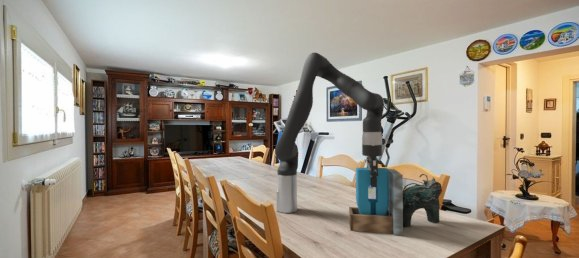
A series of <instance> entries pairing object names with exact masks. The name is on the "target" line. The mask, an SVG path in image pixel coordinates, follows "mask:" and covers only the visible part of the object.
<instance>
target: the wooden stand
mask: <svg viewBox="0 0 579 258" xmlns="http://www.w3.org/2000/svg"><path fill="white" fill-rule="evenodd" d="M388 169H389V207H388V210H387V214H386V216H380V215H360V213H359V209H358V206H357V207H353V206H349V209H348V210H349V211H348V214H349V217H348V218H349V231H352V232H367V233H368V232H369V233H384V234H385V233H387V234H393V236H401V237H403V236H404V227H403V189H404V186H403V185H404V184H403V183H404V182H403V181H404V180H403V179H404V178H403V174H402V173H400V172H399V171H398V170H396V169H395V168H388Z"/></svg>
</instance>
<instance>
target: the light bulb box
mask: <svg viewBox="0 0 579 258" xmlns="http://www.w3.org/2000/svg"><path fill="white" fill-rule="evenodd" d="M368 198H369V199H376V187H371V185H370V186H369V187H368Z"/></svg>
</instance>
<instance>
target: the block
mask: <svg viewBox="0 0 579 258" xmlns="http://www.w3.org/2000/svg"><path fill="white" fill-rule="evenodd" d="M389 169H390V168H387V167H378V177H377V187H376V199H369V198H368V187H369V186H370V185H371V177H370V172H369V170H368V168H367V167H356V168H355V193H356V194H355V200H356V201H355V202H356V205H357V208H358V209H359V213H360V215H380V216H386V214H387V210H388V207H389ZM373 173H375V172H373Z"/></svg>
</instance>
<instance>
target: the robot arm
mask: <svg viewBox="0 0 579 258" xmlns="http://www.w3.org/2000/svg"><path fill="white" fill-rule="evenodd" d="M303 64H304V65H303V67H302V71H301V75H300V79H299V82H298V83H299V84H298V86H297V89H296V92H295V95H294V98H293V100H292V104H291V106H290V108H289V112H288V115H287V117H286V121H285V124H284V127H283V129H282V133H281V135H280V137H279V139H278V140H277V143H276V146H275V149H274V154H275V157H276V159H278V160H279V166H278V167H277V174H276V175H277V190H276V212H280V213H284V214H291V213H292V214H293V213H296V212H297V211H298V185H297V184H298V181H297V179H298V176H297V175H298V172H297V171H298V167H299V148H298V145H297V143H296V141H297V139H298V135H299V134H300V131H302V129H303V127H304V126H305V124H306V123H307V120H308V118H309V116H310V115H311V114H310V113H311V111H312V109H313V105H314V104H313V103H314V97H313V95H314V92H313V91H314V90H313V89H314V85H315V81H316V77H319V78H320V79H323V80H326V81H328V82H330V83H331V84H332V85H334V86H335V88H336V89H338V90H339V91H340V92H341V93H343V94H344V95H346V96H347V97H348V98H349V99H351V100H352V101H354V103H356V105H358V107H360V108H361V109H363V110H364V111H366V117H364V118H363V120H362V135H361V136H362V137H361V141H362V142H361V149H362V151H361V154H362V156H365V157H366V168H368V170H369V172H370V177H371V187H377V177H378V168H379V160H378V159H377V157H382V156H383V135H382V119H383V115H384V114H383V113H384V108H385V102H384V101H385V100H384V98H383V96H382V95H381V94H379V93H376V92H372V91H369V90H368V89H367V88H365V85H363V84H361V82H359V81H357V80H356V79H354V78H353V77H351V76H349V75H348V74H345V73H343V72H341V70H339V69H338V68H336V67H335V66H334V65H333V64H332V63H331V62H330V60H328V59H327V58H326V57H325V56H323V55H322V54H320V53H318V52H311V53H310V54H308V56H307V57H306V59H305V61H304V63H303ZM373 172H375V173H373Z"/></svg>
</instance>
